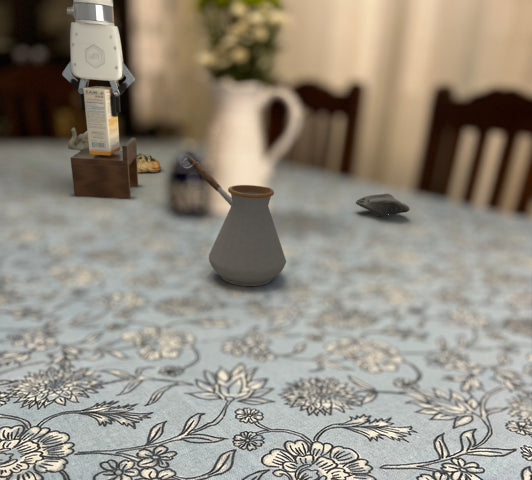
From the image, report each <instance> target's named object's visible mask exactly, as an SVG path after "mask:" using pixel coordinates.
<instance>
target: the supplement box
mask: <svg viewBox="0 0 532 480" xmlns="http://www.w3.org/2000/svg"><path fill="white" fill-rule="evenodd" d="M83 91H84V101H85V110H84V112H85V111H86V115H85V120H86V121H85V122H86V129H87V130H86V131H87V132H88V142H89V152H90V154H96V155H111V154H113V153H115V152H117V151H119V150H121V147H120V132H119V131H120V130H119V115H118V116H117V117H114V116H113V113H112V96H113V90H112V87H111V86H102V85H101V86H100V85H99V86H98V85H95V86H88V87H87V88H83Z"/></svg>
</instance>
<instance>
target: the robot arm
mask: <svg viewBox="0 0 532 480" xmlns="http://www.w3.org/2000/svg"><path fill="white" fill-rule="evenodd" d="M66 14H67V16H71V17H73V19H74V21H75V22H74V21H71V23H70V34H69V36H70V37H69V44H70V45H69V46H70V49H69V50H70V61H69V62H68V64H67V65H66V67H65V69H64V70H63V71H62V74H61V75H62V76H63V78H65V79H66V80H67V81H68V82H69V83H70V84H71V85H72V86H73V87H74V88H75V89H76V90H77V91H78V93H79V94H80V101H81V109H82V111H84V115H85V116H86V111H85V101H84V91H83V88H87V87H89V83H90V80H94V81H95V80H96V81H108V82H109V85H110V87H112V90H113V96H112V113H113V116H114V117H117V116H118V117H119V114H120V113H121V112H122V111H121V109H122V107H121V96H122V94H123V93H125V91H126V90H127V89H128V88H129V87H130V86H131V85H132V84H133V83H135V81H136V78H135V76H134V74H132V72H131V71H130V69H128V67H127V65H126V64H125V63H124V57H123V49H122V41H121V36H120V31H119V28H118V26H116V25H115V15H114V14H115V13H114V0H73V3H72V6H70V7H68V6H67V7H66ZM124 77H125V80H124V81H123V82H122V83H120V84H119V81H121V80H123V79H124ZM77 78H78V79H79V80H78V79H77Z"/></svg>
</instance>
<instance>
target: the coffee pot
mask: <svg viewBox="0 0 532 480" xmlns="http://www.w3.org/2000/svg"><path fill="white" fill-rule="evenodd" d="M185 161H188V163H189V164H190V166H184V163H185ZM181 166H182V167H183V168H184V169H191V168H192V169H194V170H195V171H197V173H198V174H199V175H200V177H201V178H202V179H203V180H204V181H205V182H206V183H207V184H208V185H210V186H211V187H212V188H213V189H214V190H215V191H216V192H217V193H218V194H219V195H220V196H221V197H222V198H223V199H224V201H226V202H227V203H228V205H229V206H230V208H229V210H228V212H227V214H226V216H225V219H224V221H223V223H222V225H221V228H220V230H219V232H218V234H217V236H216V239H215V240H214V243H213V245H212V247H211V250H210V252H209V253H208V261H209V262H208V263H209V264H210V266H211V267H212V269H213V270H214V272H216V273H217V275H219V276H220V278H222V280H223V281H225V282H227V283H229V284H232V285H236V286H242V287H257V286H258V287H259V286H264V285H267V284H269V283H270V282H272V280H273V279H275V278H276V277H278V276H279V275H280V274H281V273H282V272H283V270H284V268H285V266H286V264H287V260H286V256H285V253H284V250H283V246H282V244H281V241H280V238H279V234H278V232H277V229H276V225H275V223H274V220H273V216H272V214H271V210H270V207H269V204H270V201H271V199H272V198H271V197H272V196H274V195H275V191H274V190H273V189H272V188H271V187H268V186H261V185H253V184H236V185H232V186H229V187H228V189H227V192H226V191H225V190H224V189H223V187H222V186H221V185H220V184H219V183H218V181H217V180H216V179H215V178H214V176H212V175H211V173H210V172H209V171H208V170H207V169H205V168H204V167H202V166H201V164H200V162H199V161H196V160H195V158H193V157H192V156H191V155H187V157H186V158H184V159H183V160H182V162H181ZM228 193H229V194H228Z"/></svg>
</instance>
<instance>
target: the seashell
mask: <svg viewBox="0 0 532 480" xmlns="http://www.w3.org/2000/svg"><path fill="white" fill-rule="evenodd" d="M355 204H356V205H357V206H359V207H361V208H363V209H364V210H368V211H370V212H371V213H373V214H374V215H375V216H377V217H379V218H387V217H390V216H393V215H398V214H403V213H404V214H405V213H408V212H409V211H410V210H411V209H410V206H409V205H407V204H405V202H404V203H403V202H401V201H400V200H398V199H396V198H395V197H394V196H393V195H392V194H391V193H380V194H370V195H366V196H363V197H361V198H359V199H357V200H356V201H355ZM388 214H389V215H388Z"/></svg>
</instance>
